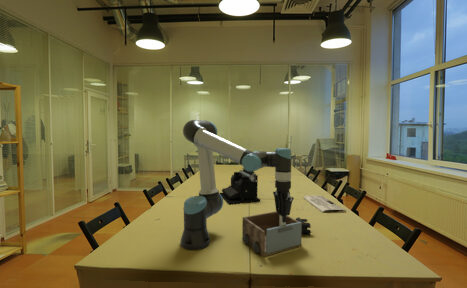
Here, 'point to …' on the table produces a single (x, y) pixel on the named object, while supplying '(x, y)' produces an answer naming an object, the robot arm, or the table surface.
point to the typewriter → (241, 188)
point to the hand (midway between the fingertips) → (282, 227)
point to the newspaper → (323, 203)
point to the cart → (262, 230)
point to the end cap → (304, 226)
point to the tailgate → (283, 237)
